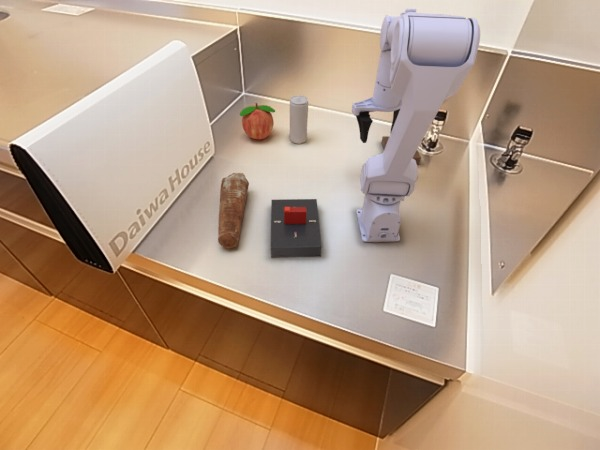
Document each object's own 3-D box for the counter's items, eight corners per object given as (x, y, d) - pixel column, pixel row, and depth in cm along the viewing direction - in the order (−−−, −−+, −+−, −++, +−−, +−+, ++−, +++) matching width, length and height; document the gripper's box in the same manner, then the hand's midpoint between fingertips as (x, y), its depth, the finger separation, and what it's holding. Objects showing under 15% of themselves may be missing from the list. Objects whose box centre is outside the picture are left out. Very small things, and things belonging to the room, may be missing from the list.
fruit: (242, 128, 107) (238, 95, 99) (275, 127, 108) (274, 94, 100) (242, 145, 101) (238, 112, 94) (277, 143, 102) (276, 110, 94)
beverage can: (286, 141, 102) (286, 101, 94) (294, 133, 105) (295, 93, 97) (302, 146, 101) (303, 105, 92) (309, 137, 104) (311, 97, 95)
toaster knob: (305, 219, 77) (306, 206, 75) (306, 223, 76) (306, 210, 74) (284, 219, 77) (284, 206, 74) (284, 224, 76) (284, 211, 74)
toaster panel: (320, 256, 74) (321, 246, 72) (271, 257, 74) (270, 247, 72) (315, 208, 84) (316, 198, 82) (272, 209, 84) (271, 198, 81)
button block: (418, 164, 96) (422, 151, 93) (388, 165, 96) (391, 152, 93) (409, 143, 103) (412, 130, 100) (381, 143, 103) (383, 130, 100)
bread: (250, 190, 88) (248, 171, 84) (241, 251, 75) (238, 233, 71) (223, 189, 88) (220, 170, 84) (209, 251, 75) (205, 232, 71)
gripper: (412, 69, 80) (399, 125, 90) (349, 76, 77) (343, 133, 87) (428, 84, 75) (412, 141, 85) (362, 92, 72) (353, 150, 82)
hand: (378, 138), depth 86 cm, fingers open, 7 cm apart
